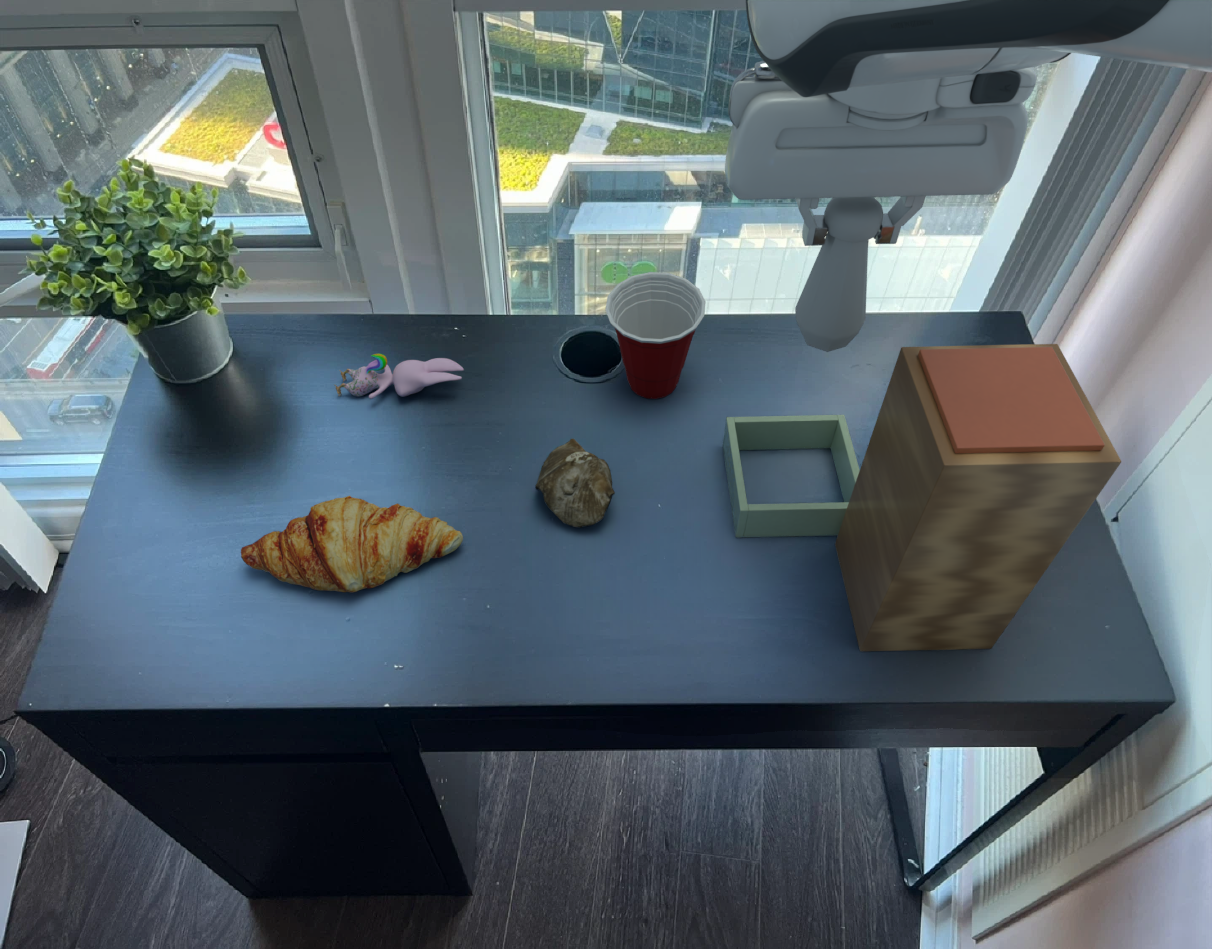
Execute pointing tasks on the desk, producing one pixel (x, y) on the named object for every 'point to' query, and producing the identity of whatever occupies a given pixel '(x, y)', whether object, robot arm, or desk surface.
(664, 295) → the plastic cup
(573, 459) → the fossilized seashell
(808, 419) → the holder
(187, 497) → the desk surface
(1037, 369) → the coaster
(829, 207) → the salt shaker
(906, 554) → the block
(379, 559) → the croissant
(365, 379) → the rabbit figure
